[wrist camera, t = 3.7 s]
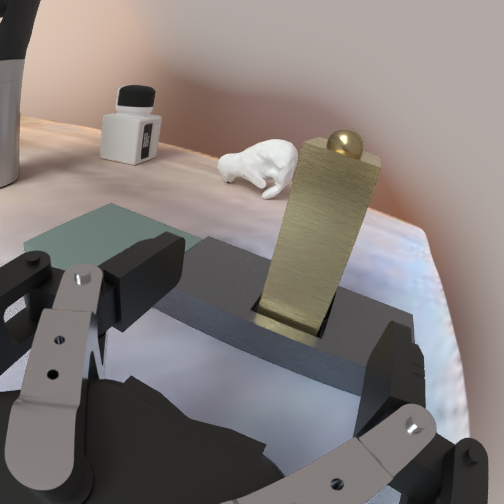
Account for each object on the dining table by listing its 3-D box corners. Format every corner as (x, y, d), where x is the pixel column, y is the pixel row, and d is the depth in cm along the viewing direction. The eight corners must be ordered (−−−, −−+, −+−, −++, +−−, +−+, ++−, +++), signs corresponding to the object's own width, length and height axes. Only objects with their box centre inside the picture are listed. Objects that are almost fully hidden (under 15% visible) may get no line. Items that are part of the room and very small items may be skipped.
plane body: (151, 306, 22) (152, 277, 21) (204, 261, 28) (208, 236, 27) (396, 407, 18) (416, 384, 16) (399, 337, 24) (412, 314, 23)
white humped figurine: (295, 145, 41) (213, 133, 44) (286, 205, 45) (208, 189, 48) (303, 141, 47) (229, 130, 49) (294, 194, 50) (224, 180, 53)
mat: (24, 250, 23) (23, 242, 23) (111, 209, 33) (111, 203, 33) (117, 311, 20) (116, 303, 20) (201, 246, 31) (202, 239, 30)
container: (157, 157, 55) (167, 87, 49) (134, 166, 48) (144, 87, 42) (122, 150, 56) (131, 84, 50) (98, 158, 49) (106, 84, 43)
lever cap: (249, 337, 21) (309, 119, 15) (273, 300, 26) (324, 119, 19) (304, 360, 20) (388, 144, 14) (320, 318, 25) (385, 139, 18)
